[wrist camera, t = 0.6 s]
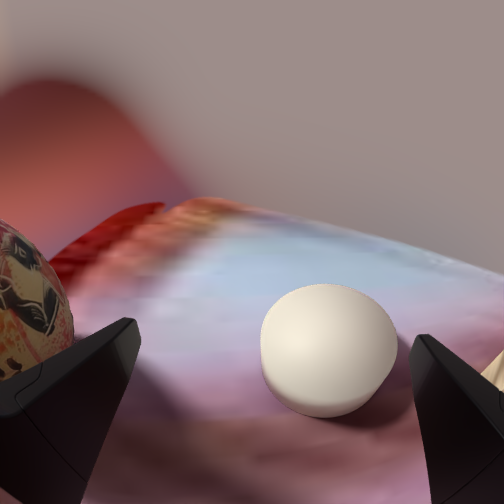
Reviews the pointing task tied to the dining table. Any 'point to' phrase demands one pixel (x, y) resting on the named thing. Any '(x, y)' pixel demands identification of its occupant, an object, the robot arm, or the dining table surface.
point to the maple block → (496, 372)
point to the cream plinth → (326, 349)
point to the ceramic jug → (29, 306)
